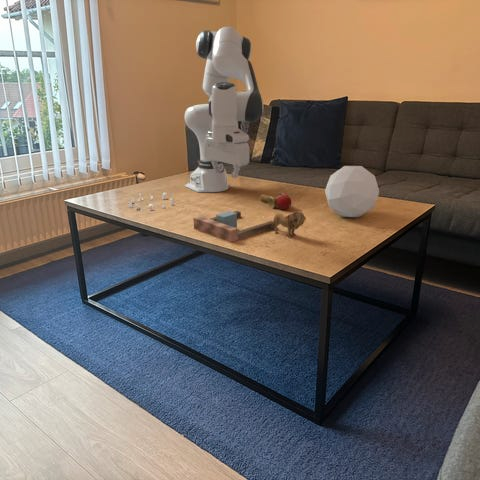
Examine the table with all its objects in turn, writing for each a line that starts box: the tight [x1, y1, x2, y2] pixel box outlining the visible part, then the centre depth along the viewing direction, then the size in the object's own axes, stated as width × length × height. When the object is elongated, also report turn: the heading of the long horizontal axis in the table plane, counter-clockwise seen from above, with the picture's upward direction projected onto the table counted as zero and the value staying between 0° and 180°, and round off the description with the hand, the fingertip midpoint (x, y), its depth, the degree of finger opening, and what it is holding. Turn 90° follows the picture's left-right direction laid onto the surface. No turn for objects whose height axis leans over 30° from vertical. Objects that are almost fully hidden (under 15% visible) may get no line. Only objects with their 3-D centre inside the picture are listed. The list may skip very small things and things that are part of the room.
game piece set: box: [128, 192, 175, 211], centre depth 195 cm, size 19×20×4 cm
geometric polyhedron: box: [324, 165, 380, 218], centre depth 172 cm, size 19×20×20 cm
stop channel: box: [193, 210, 275, 243], centre depth 163 cm, size 20×21×4 cm
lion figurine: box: [268, 210, 307, 239], centre depth 155 cm, size 15×5×9 cm, turn 51°
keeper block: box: [215, 210, 238, 229], centre depth 161 cm, size 4×6×6 cm, turn 133°
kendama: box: [259, 192, 292, 211], centre depth 189 cm, size 8×6×18 cm
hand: (225, 175), depth 158 cm, fingers open, 8 cm apart
